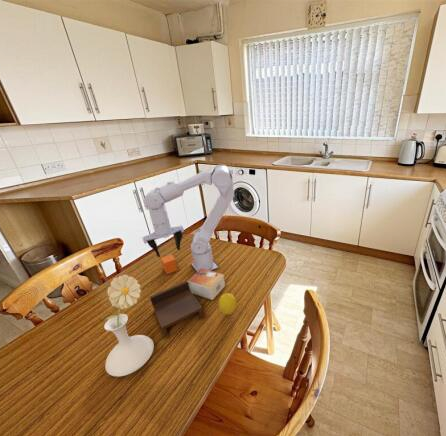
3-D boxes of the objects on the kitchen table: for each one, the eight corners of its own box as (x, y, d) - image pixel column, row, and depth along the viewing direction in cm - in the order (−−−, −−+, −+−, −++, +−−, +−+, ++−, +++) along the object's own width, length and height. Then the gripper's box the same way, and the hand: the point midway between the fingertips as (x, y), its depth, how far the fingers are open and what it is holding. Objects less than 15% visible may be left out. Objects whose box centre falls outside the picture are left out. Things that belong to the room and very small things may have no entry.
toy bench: (155, 312, 79) (149, 296, 76) (190, 296, 85) (186, 280, 82) (164, 337, 70) (159, 320, 67) (203, 316, 76) (200, 300, 73)
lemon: (240, 309, 78) (238, 291, 75) (231, 322, 74) (228, 303, 71) (227, 305, 81) (224, 286, 77) (216, 317, 76) (213, 298, 73)
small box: (210, 288, 80) (186, 280, 84) (212, 300, 83) (189, 292, 87) (223, 274, 87) (200, 267, 91) (225, 285, 90) (203, 279, 93)
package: (163, 268, 100) (160, 258, 98) (174, 264, 103) (171, 254, 100) (167, 274, 97) (163, 263, 94) (177, 270, 99) (175, 259, 97)
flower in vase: (121, 389, 57) (83, 313, 46) (99, 365, 63) (59, 292, 52) (169, 347, 67) (146, 275, 56) (145, 329, 73) (120, 262, 62)
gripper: (141, 231, 82) (151, 263, 88) (183, 219, 90) (190, 250, 96) (137, 224, 87) (147, 255, 93) (177, 214, 95) (184, 243, 101)
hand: (168, 252), depth 95 cm, fingers open, 7 cm apart
